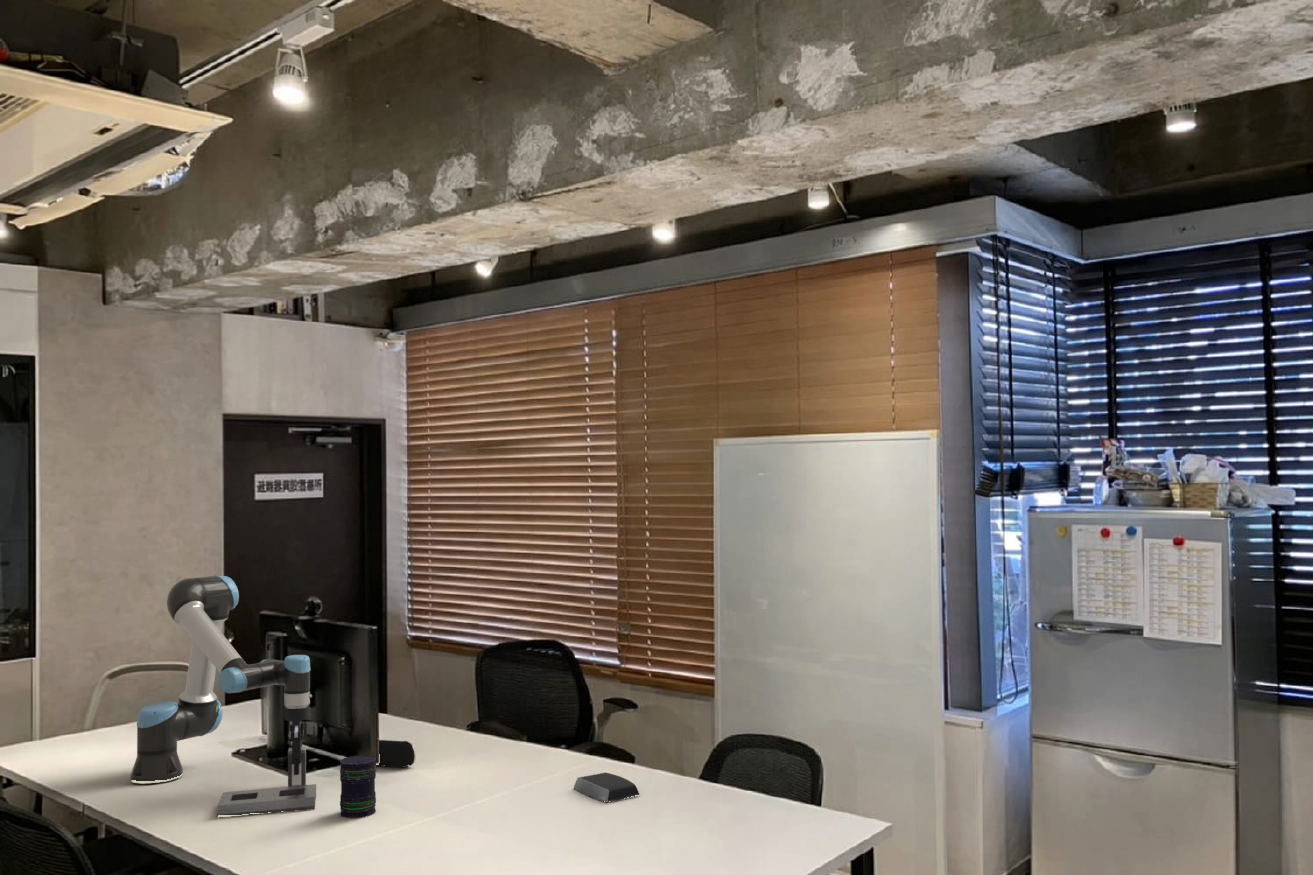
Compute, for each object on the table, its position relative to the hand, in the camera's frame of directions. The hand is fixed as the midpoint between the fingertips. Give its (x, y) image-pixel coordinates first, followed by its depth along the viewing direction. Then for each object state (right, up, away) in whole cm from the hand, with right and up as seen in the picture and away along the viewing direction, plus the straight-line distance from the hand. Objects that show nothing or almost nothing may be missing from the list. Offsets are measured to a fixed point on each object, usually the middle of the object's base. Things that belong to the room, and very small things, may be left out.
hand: (297, 782), depth 322 cm
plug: (0, -2, 0) cm, 2 cm away
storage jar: (+27, 0, -27) cm, 38 cm away
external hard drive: (+96, 0, -10) cm, 96 cm away
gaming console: (+22, -3, +24) cm, 33 cm away
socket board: (-2, -1, -19) cm, 19 cm away
